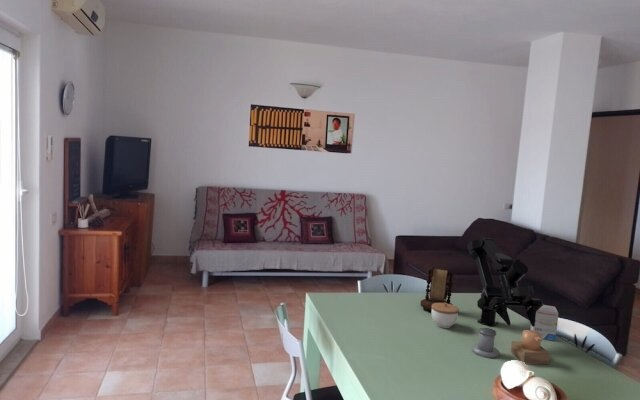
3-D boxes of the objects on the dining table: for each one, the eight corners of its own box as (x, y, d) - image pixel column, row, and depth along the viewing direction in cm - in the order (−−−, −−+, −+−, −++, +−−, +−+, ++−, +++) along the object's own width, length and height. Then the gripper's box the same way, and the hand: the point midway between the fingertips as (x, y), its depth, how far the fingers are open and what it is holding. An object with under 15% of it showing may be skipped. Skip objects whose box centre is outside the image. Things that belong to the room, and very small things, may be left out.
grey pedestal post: (478, 344, 169) (481, 324, 168) (502, 353, 163) (505, 332, 162) (467, 351, 163) (469, 329, 162) (491, 360, 156) (494, 338, 155)
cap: (517, 343, 163) (519, 329, 162) (534, 343, 163) (535, 330, 163) (529, 352, 155) (531, 338, 155) (546, 353, 156) (548, 339, 155)
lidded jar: (458, 332, 180) (460, 309, 179) (430, 328, 182) (432, 305, 181) (455, 322, 191) (458, 300, 190) (429, 318, 193) (431, 297, 192)
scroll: (417, 311, 201) (421, 266, 199) (423, 301, 215) (427, 260, 213) (451, 317, 196) (456, 272, 194) (455, 308, 209) (459, 265, 207)
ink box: (552, 333, 186) (555, 306, 185) (555, 341, 178) (559, 312, 177) (529, 329, 189) (532, 302, 187) (531, 337, 181) (535, 308, 179)
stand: (510, 351, 165) (511, 341, 164) (534, 352, 165) (535, 342, 165) (523, 363, 156) (525, 352, 155) (548, 364, 157) (550, 353, 156)
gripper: (495, 276, 169) (506, 315, 159) (543, 278, 171) (557, 317, 161) (484, 289, 178) (493, 328, 168) (529, 291, 179) (541, 330, 170)
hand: (521, 325), depth 167 cm, fingers open, 9 cm apart
